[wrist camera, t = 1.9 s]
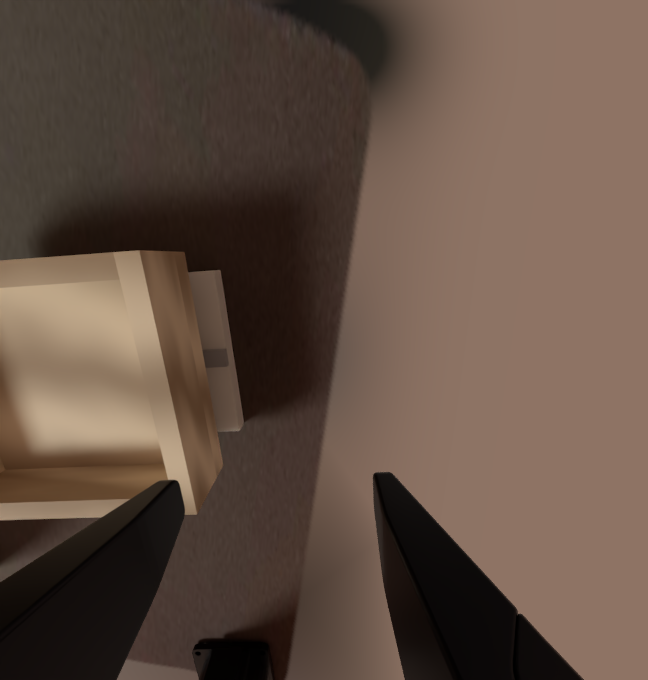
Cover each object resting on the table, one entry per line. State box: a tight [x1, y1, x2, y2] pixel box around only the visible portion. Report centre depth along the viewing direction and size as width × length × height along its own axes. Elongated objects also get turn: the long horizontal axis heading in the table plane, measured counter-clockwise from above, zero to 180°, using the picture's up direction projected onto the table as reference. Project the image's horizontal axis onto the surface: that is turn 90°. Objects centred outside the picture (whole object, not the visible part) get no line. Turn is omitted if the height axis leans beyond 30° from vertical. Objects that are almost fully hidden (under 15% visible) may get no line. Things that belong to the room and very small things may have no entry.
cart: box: [0, 250, 223, 520], centre depth 16 cm, size 12×13×5 cm
